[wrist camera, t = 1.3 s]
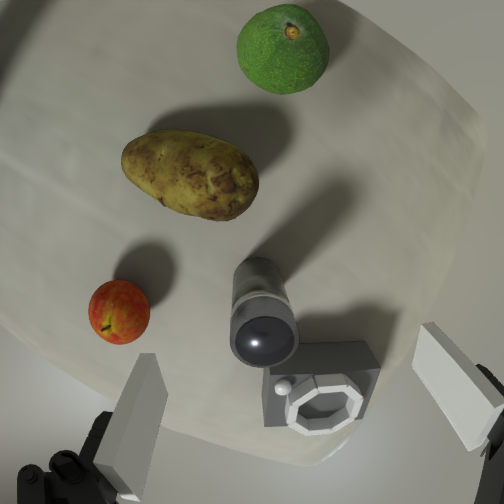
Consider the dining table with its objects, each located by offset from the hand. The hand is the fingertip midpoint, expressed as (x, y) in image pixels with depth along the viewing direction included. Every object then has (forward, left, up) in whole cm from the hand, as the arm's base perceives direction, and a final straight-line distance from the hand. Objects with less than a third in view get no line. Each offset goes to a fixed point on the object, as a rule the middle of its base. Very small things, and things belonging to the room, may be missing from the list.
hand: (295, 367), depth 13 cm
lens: (-1, -4, -20) cm, 20 cm away
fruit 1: (-16, -7, -20) cm, 26 cm away
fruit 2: (0, +19, -20) cm, 28 cm away
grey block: (+7, -17, -20) cm, 27 cm away
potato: (-8, +8, -20) cm, 23 cm away
